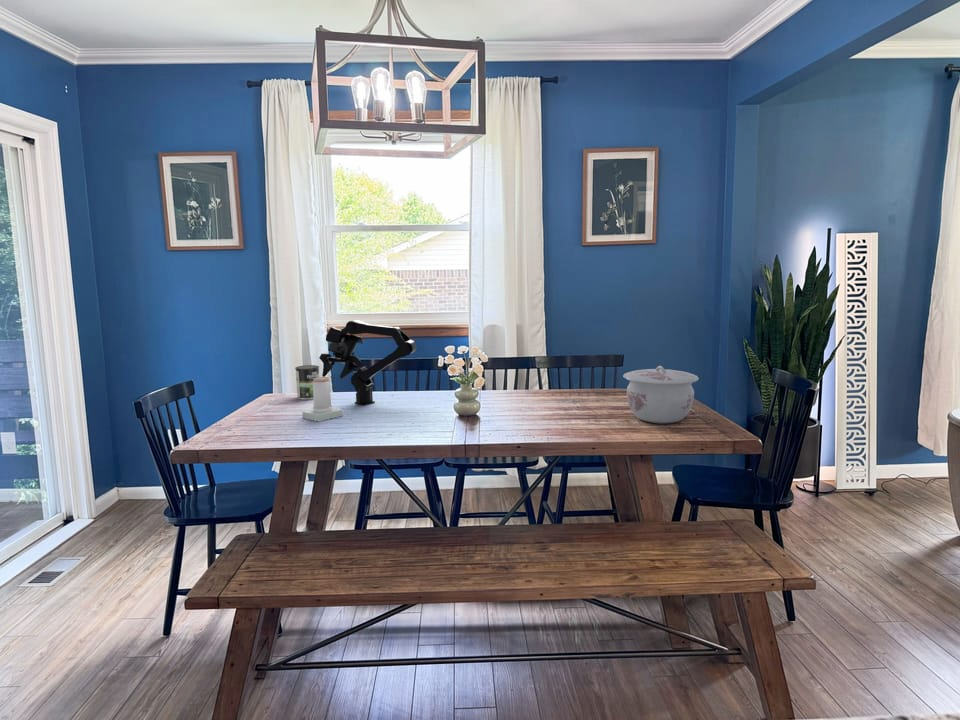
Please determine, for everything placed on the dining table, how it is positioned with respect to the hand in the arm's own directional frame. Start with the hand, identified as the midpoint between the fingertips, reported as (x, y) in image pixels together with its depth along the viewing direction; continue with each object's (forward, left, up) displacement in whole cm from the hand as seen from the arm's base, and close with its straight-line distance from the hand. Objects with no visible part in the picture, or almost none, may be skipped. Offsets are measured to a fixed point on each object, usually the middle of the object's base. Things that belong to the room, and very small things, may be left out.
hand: (331, 377), depth 263 cm
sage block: (+11, +8, -14) cm, 19 cm away
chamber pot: (-66, +114, -14) cm, 132 cm away
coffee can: (-7, -28, -14) cm, 33 cm away
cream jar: (+11, +7, -11) cm, 17 cm away
